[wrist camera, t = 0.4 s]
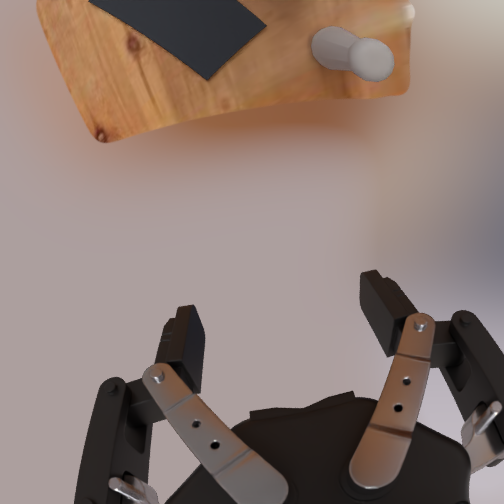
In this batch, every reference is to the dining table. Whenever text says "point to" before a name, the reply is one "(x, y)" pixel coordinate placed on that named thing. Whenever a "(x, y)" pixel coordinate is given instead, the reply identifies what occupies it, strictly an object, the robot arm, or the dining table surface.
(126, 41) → the dining table surface
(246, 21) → the word mat
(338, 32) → the salt shaker
